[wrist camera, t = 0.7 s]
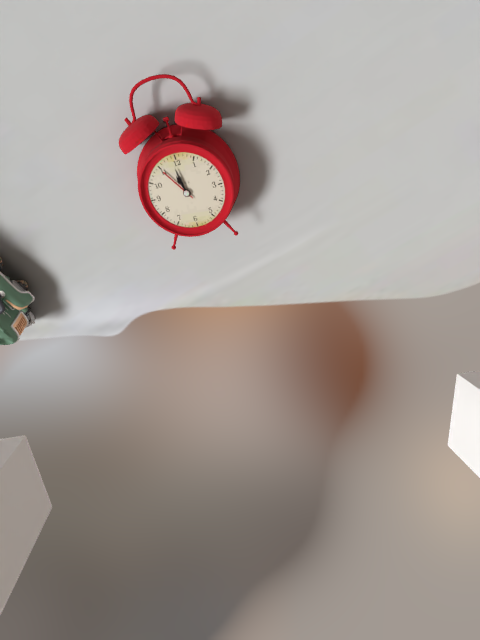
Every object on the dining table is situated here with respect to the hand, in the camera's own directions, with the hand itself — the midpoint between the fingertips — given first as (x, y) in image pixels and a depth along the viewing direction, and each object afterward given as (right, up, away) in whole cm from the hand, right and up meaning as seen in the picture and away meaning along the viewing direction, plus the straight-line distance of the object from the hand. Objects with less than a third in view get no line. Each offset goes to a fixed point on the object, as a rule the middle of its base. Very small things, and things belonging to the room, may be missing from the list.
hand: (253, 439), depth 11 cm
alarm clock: (-6, +20, +25) cm, 32 cm away
